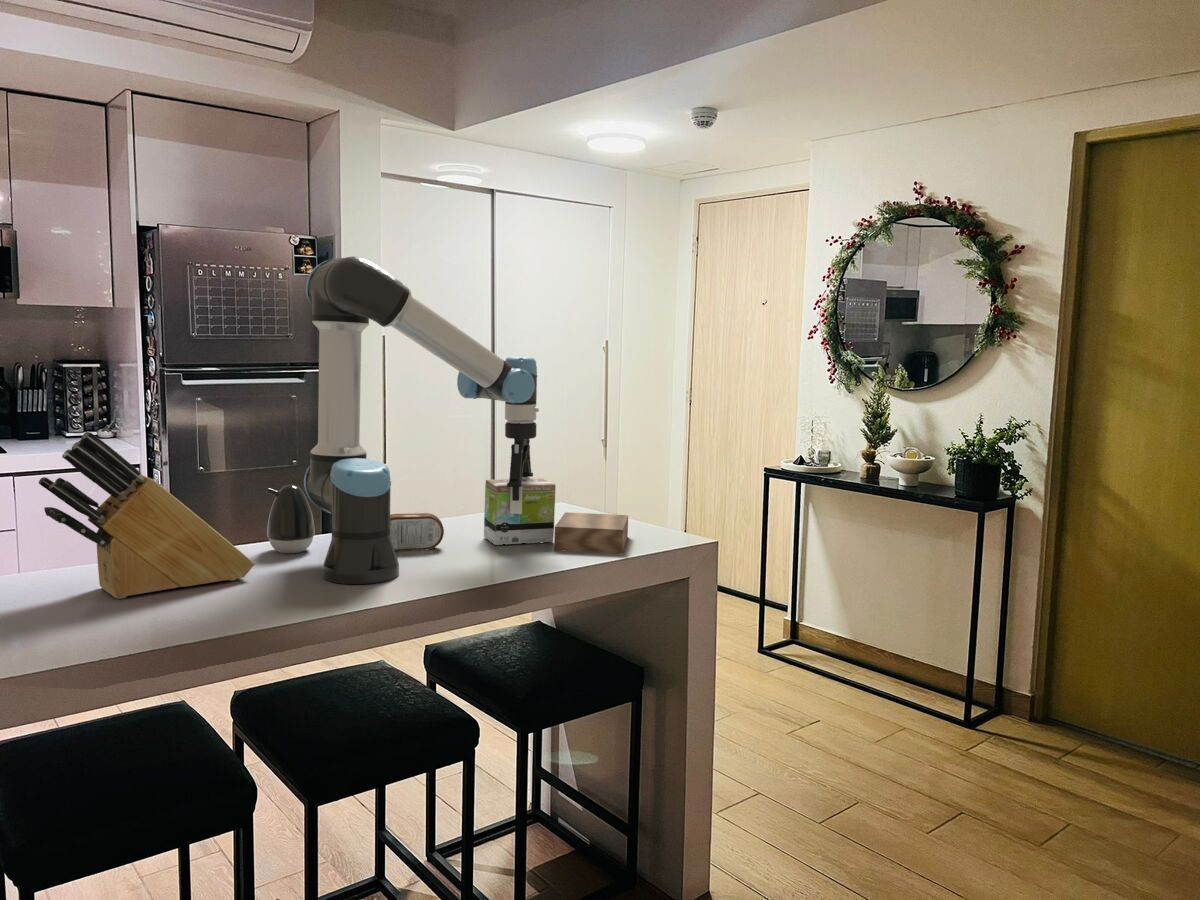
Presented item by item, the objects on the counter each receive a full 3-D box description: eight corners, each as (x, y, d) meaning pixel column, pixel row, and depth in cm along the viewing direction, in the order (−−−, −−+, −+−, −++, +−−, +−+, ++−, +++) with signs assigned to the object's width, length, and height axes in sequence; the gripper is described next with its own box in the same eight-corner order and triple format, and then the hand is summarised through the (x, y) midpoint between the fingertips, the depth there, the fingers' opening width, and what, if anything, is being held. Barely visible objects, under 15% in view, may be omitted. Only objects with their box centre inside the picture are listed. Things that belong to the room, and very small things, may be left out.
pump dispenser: (273, 545, 215) (272, 480, 213) (319, 546, 216) (318, 481, 214) (261, 556, 205) (259, 488, 203) (309, 556, 206) (308, 488, 204)
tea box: (495, 547, 220) (496, 485, 218) (483, 538, 229) (483, 478, 227) (554, 543, 226) (556, 482, 224) (540, 534, 235) (541, 476, 233)
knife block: (41, 595, 171) (33, 428, 167) (234, 567, 194) (231, 420, 190) (55, 610, 162) (47, 434, 159) (255, 579, 186) (252, 425, 182)
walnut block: (554, 551, 218) (554, 526, 217) (564, 535, 236) (565, 512, 235) (622, 555, 216) (622, 529, 216) (627, 538, 234) (628, 515, 234)
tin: (442, 546, 218) (442, 511, 217) (444, 549, 215) (445, 514, 214) (377, 549, 214) (377, 513, 213) (378, 553, 211) (378, 516, 210)
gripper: (529, 427, 211) (528, 518, 214) (542, 416, 236) (542, 499, 238) (496, 426, 211) (496, 518, 214) (513, 416, 236) (513, 498, 239)
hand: (520, 508), depth 226 cm, fingers open, 13 cm apart
